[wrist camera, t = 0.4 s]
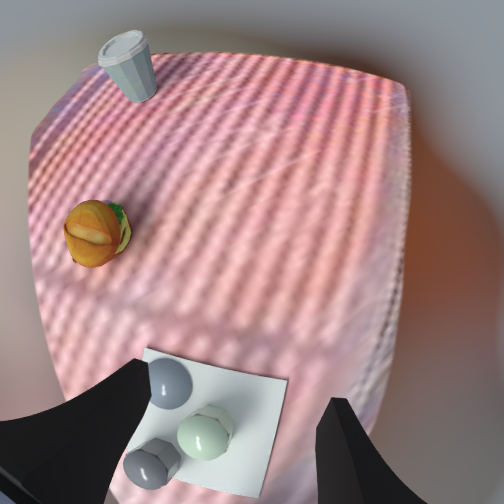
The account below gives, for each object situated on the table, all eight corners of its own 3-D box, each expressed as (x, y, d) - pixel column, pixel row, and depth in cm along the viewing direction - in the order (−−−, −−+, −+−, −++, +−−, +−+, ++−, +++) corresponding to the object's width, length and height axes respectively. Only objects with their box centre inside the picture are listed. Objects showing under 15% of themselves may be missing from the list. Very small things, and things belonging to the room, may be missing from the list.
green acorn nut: (229, 449, 31) (222, 466, 25) (187, 438, 31) (173, 452, 26) (238, 411, 32) (232, 422, 27) (194, 401, 33) (181, 409, 27)
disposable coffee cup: (163, 103, 51) (141, 45, 37) (116, 116, 51) (87, 65, 37) (167, 75, 54) (150, 23, 40) (123, 87, 54) (101, 39, 40)
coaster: (186, 415, 32) (185, 416, 32) (138, 399, 33) (137, 400, 33) (196, 366, 34) (195, 366, 34) (147, 352, 35) (146, 352, 35)
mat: (258, 496, 28) (258, 498, 28) (127, 459, 30) (126, 460, 30) (286, 380, 34) (287, 380, 33) (146, 347, 36) (144, 347, 35)
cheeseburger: (131, 195, 44) (106, 174, 34) (146, 258, 43) (121, 252, 33) (81, 216, 43) (48, 202, 33) (93, 277, 42) (59, 275, 32)
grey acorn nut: (177, 478, 29) (163, 496, 23) (139, 465, 30) (121, 479, 24) (183, 446, 31) (169, 460, 25) (144, 433, 31) (125, 444, 26)
